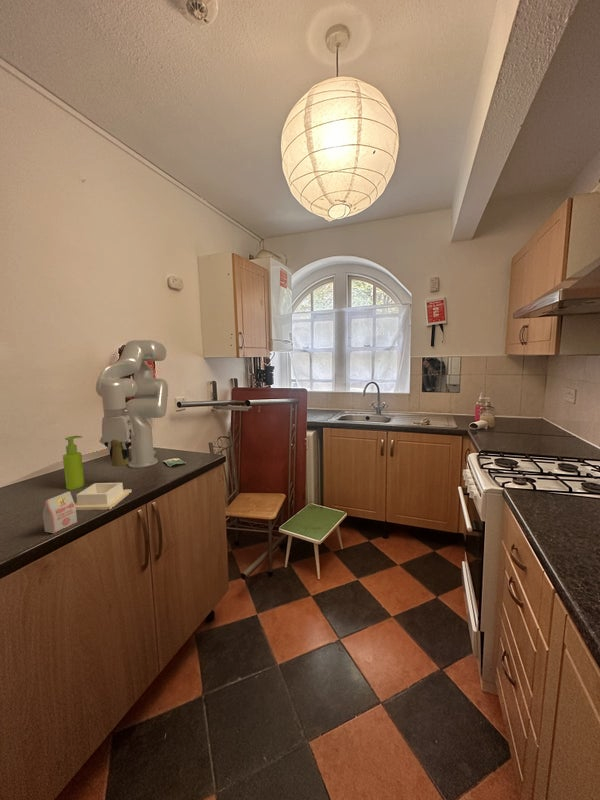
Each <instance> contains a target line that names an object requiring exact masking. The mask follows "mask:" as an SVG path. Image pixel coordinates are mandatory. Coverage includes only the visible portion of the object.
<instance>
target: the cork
mask: <svg viewBox="0 0 600 800" xmlns="http://www.w3.org/2000/svg"><path fill="white" fill-rule="evenodd" d="M110 443H111V445H112V460H111V466H112V467H122V466H123V467H124V466H126V465H128V463H129V462H130V460H129V457H128V458H126V459H123V455H122V450H123V446H122V442H119V441H118V440H112V441H111V442H110Z"/></svg>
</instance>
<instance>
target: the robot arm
mask: <svg viewBox="0 0 600 800" xmlns="http://www.w3.org/2000/svg"><path fill="white" fill-rule="evenodd" d="M166 357H167V349H166V347H165V346H164V344H162V343H161V342H158V341H155V340H146V339H145V340H141V339H139V340H137V339H136V340H135V339H134V340H129V341H128V342H126V343H125V345H124V348H123V350H122V353H121V355H120V358H119V360H117V361H115V362H113V363H111V364H110V365H108V366H107V367H105V368H104V369H103V370H102V371H101V373H99V376H98V378H97V380H96V384H95V392H96V394H97V395H98V396H99V397H101V400H102V410H103V416H102V420H101V437H100V439H99V444H102V445H104V446H105V447H106V449H107V450H108V451H109V456H110V459H111V461H112V445H111V443H110V442H111V441H112V440H118V441H119V442H122V446H123V450H122V455H123V459H126V458H128V459H129V456H130V454H131V460H129V463H128V464H127V465H128V467H130V468H133V469H137V468H138V469H141V468H146V467H151V466H154V465H156V464H157V463H158V461H159V460H158V458H156V457H155V454H157V451H156V450H154V442H153V428H152V425H151V423H150V422H149V421H148V419H160V418H161V419H162V418H163V417H164V416H165V415H166V413H167V405H168V395H169V386H168V382H167V380H165V379H163V378H154V370H153V369H152V368H151V366H150V365H148V364H147V363H146V362H161V361H162V362H164V360H165V359H166ZM130 375H133V379H132V378H127V376H130ZM124 377H125V378H124ZM132 396H133V397H135V398H132V399H130V400H128V401H126V398H130V397H132Z"/></svg>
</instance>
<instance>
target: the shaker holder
mask: <svg viewBox="0 0 600 800" xmlns="http://www.w3.org/2000/svg"><path fill="white" fill-rule="evenodd" d="M129 493H130V494H131V493H132V489H129V488H128V489H126V488H125V489H124V485H123V482H95V483H92V484H91V485H90V486H88V487H86V488H85V489H83V490H81V491H80V492H78V493H76V495H75V496H76V501H74V503H75V507H76V511H96V510H98V511H99V510H101V511H102V510H104V511H106V510H107V509H109V510H111V509H113V508H114V507H115V506H117V504H119V503H120V502H121V501H123V500H124V499H125V498H126V497H127V496H129V495H130V494H129ZM112 507H113V508H112Z"/></svg>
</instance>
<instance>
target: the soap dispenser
mask: <svg viewBox="0 0 600 800" xmlns="http://www.w3.org/2000/svg"><path fill="white" fill-rule="evenodd" d="M79 438H83V435H82V436H81V435H73V436H67V437H66V438H65V437H64V439H65V441H67V445H66V446H65V451H66V454H64V455H62V460H63V469H64V479H65V488H66V490H77V489H80V488H82V487H84V486H85V476H84V467H83V458H82V452H79V451H78V449H77V448H78V445H77V444H75V443H74V439H79Z"/></svg>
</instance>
